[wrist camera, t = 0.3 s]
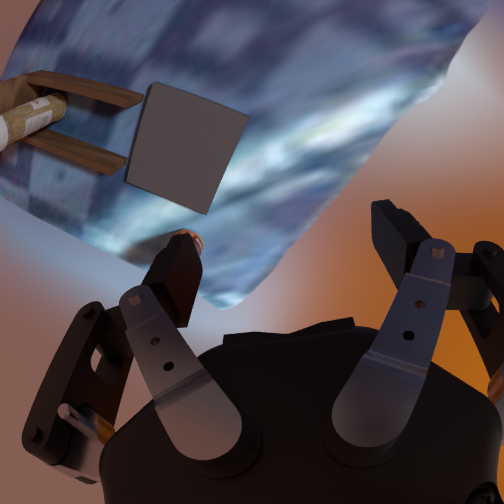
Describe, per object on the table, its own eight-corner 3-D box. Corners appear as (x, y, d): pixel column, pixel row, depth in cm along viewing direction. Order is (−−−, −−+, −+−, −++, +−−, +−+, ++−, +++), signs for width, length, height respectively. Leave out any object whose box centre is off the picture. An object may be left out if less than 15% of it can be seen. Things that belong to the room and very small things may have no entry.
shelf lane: (41, 70, 25) (-21, 89, 15) (144, 94, 28) (84, 116, 19) (33, 130, 31) (-22, 161, 21) (125, 164, 34) (73, 208, 25)
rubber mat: (156, 81, 27) (153, 82, 26) (250, 116, 29) (249, 117, 28) (128, 179, 35) (126, 181, 35) (207, 212, 37) (206, 214, 37)
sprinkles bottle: (61, 85, 27) (-12, 112, 16) (72, 110, 29) (1, 144, 19) (43, 102, 28) (-25, 133, 17) (54, 126, 31) (-12, 163, 20)
